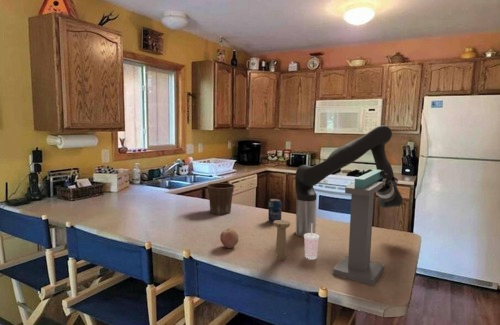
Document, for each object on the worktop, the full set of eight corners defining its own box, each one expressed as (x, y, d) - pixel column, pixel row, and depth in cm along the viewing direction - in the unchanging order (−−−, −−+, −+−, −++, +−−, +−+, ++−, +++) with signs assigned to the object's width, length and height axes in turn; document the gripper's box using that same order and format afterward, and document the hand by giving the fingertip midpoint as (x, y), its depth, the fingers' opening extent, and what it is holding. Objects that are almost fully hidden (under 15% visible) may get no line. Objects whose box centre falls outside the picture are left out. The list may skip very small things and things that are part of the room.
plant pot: (233, 208, 205) (233, 182, 203) (235, 215, 189) (235, 187, 187) (207, 208, 203) (206, 182, 201) (207, 216, 187) (206, 188, 185)
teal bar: (363, 188, 111) (363, 179, 110) (354, 187, 112) (354, 178, 112) (382, 177, 132) (382, 170, 132) (374, 176, 134) (375, 169, 133)
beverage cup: (300, 257, 132) (301, 223, 130) (306, 252, 137) (307, 220, 135) (315, 261, 129) (316, 226, 127) (320, 256, 134) (322, 222, 132)
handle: (275, 255, 134) (275, 219, 132) (290, 257, 132) (291, 221, 130) (271, 259, 130) (271, 222, 128) (286, 262, 127) (287, 225, 125)
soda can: (270, 224, 174) (271, 201, 173) (266, 220, 181) (266, 198, 179) (283, 223, 176) (283, 201, 175) (278, 219, 183) (279, 198, 181)
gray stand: (373, 285, 110) (378, 191, 106) (332, 274, 118) (336, 186, 114) (386, 266, 125) (391, 183, 121) (349, 257, 133) (353, 178, 129)
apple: (229, 242, 148) (229, 225, 147) (242, 246, 143) (242, 228, 142) (216, 247, 142) (216, 229, 141) (229, 252, 137) (229, 233, 136)
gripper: (368, 177, 146) (358, 161, 133) (402, 180, 138) (396, 164, 125) (364, 193, 144) (355, 178, 131) (400, 197, 136) (393, 182, 123)
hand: (375, 171), depth 128 cm, fingers open, 4 cm apart
